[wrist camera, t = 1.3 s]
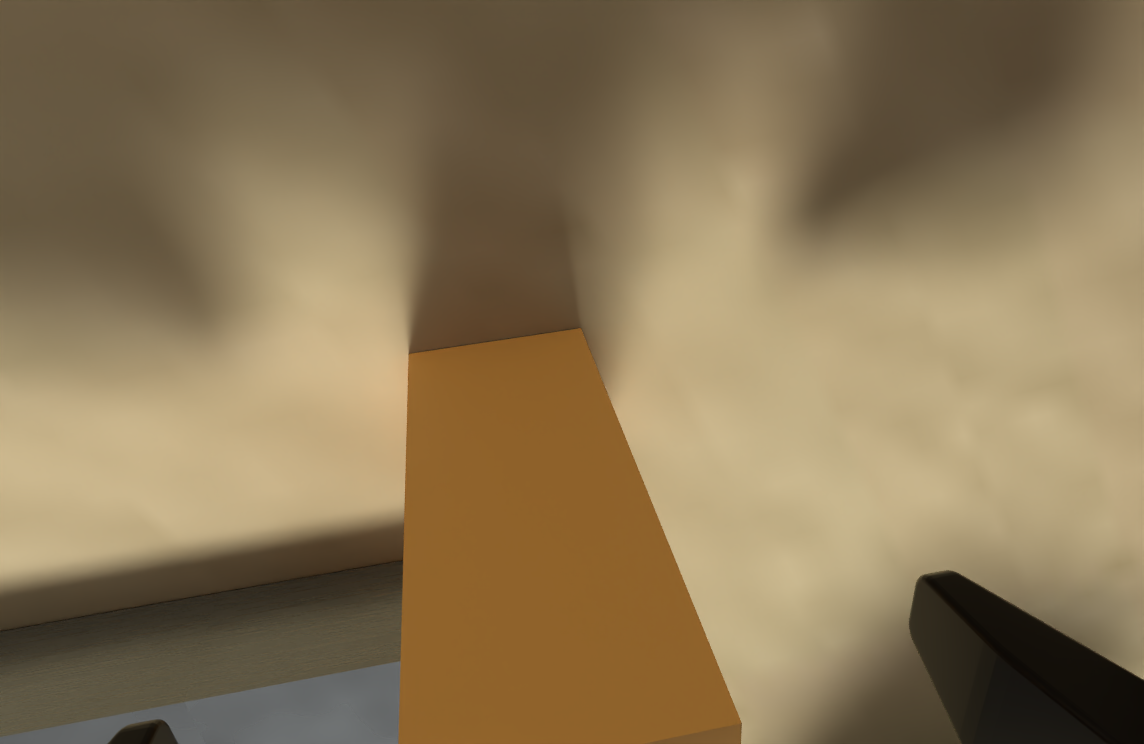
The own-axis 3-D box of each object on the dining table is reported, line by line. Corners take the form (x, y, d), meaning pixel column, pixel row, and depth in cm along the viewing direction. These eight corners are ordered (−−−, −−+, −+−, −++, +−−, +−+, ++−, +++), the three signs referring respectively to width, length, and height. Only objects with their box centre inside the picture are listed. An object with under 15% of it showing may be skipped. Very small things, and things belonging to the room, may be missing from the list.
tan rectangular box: (580, 328, 14) (742, 722, 7) (592, 465, 15) (734, 902, 8) (408, 353, 13) (396, 794, 7) (437, 491, 15) (453, 968, 8)
